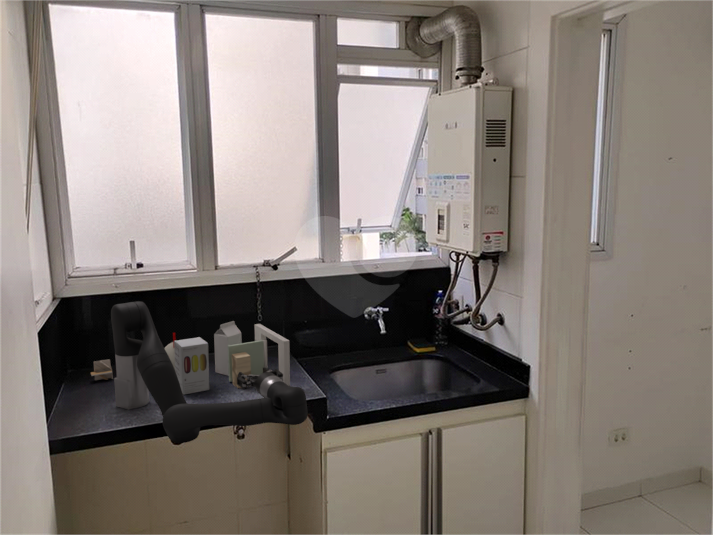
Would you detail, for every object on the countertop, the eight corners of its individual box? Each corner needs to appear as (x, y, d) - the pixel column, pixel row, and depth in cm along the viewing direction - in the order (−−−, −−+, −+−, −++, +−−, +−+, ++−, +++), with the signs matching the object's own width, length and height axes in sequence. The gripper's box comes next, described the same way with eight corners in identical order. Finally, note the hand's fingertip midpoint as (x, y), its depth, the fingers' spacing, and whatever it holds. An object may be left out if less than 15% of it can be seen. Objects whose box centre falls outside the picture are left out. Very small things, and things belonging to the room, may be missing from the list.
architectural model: (113, 381, 204) (112, 361, 203) (92, 385, 200) (90, 364, 199) (111, 378, 207) (110, 359, 206) (91, 382, 203) (89, 362, 202)
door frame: (255, 370, 214) (254, 324, 211) (260, 369, 215) (259, 323, 212) (284, 392, 192) (283, 341, 190) (290, 391, 193) (289, 340, 191)
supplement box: (182, 395, 190) (180, 347, 187) (174, 387, 197) (172, 340, 195) (210, 389, 195) (208, 342, 192) (201, 381, 203) (200, 336, 200)
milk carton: (242, 371, 214) (241, 322, 211) (229, 376, 208) (227, 326, 205) (229, 367, 218) (227, 319, 215) (215, 372, 212) (213, 323, 209)
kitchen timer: (194, 365, 220) (192, 327, 218) (196, 376, 208) (194, 337, 205) (156, 368, 216) (154, 330, 214) (156, 381, 203) (153, 340, 201)
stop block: (251, 385, 198) (250, 355, 197) (237, 388, 196) (236, 358, 194) (246, 381, 203) (245, 352, 201) (232, 384, 200) (231, 354, 198)
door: (265, 372, 211) (264, 338, 209) (268, 374, 209) (267, 340, 206) (227, 379, 203) (226, 344, 201) (230, 381, 201) (229, 346, 199)
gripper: (250, 403, 173) (231, 387, 186) (292, 394, 180) (271, 379, 194) (249, 380, 172) (231, 365, 185) (292, 372, 179) (271, 358, 193)
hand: (252, 372), depth 190 cm, fingers open, 8 cm apart
